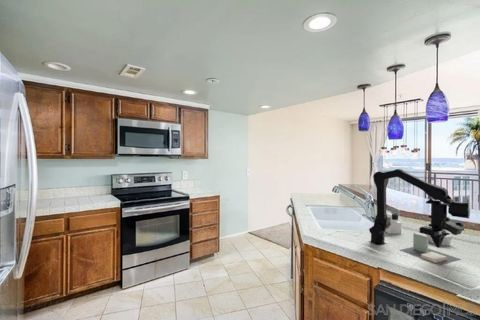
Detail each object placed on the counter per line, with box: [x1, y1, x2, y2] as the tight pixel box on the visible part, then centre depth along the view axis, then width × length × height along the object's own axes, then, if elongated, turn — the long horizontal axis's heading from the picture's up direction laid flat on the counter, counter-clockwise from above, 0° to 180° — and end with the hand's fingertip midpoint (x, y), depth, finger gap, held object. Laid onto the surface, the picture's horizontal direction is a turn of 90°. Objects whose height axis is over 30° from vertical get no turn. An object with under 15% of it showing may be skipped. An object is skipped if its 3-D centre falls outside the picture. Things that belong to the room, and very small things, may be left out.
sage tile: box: [412, 232, 429, 253], centre depth 119 cm, size 2×6×8 cm, turn 22°
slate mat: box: [399, 246, 462, 266], centre depth 115 cm, size 16×18×1 cm
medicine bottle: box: [385, 212, 402, 235], centre depth 149 cm, size 7×7×12 cm
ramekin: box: [425, 233, 453, 247], centre depth 131 cm, size 11×11×5 cm
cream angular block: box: [420, 252, 447, 264], centre depth 110 cm, size 2×6×8 cm
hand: (438, 247), depth 111 cm, fingers closed
